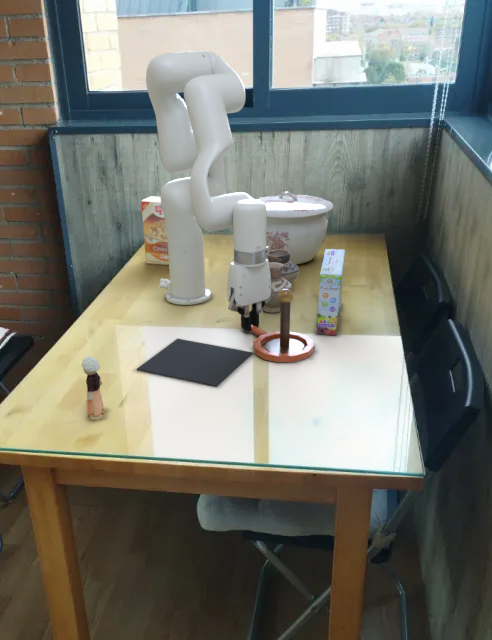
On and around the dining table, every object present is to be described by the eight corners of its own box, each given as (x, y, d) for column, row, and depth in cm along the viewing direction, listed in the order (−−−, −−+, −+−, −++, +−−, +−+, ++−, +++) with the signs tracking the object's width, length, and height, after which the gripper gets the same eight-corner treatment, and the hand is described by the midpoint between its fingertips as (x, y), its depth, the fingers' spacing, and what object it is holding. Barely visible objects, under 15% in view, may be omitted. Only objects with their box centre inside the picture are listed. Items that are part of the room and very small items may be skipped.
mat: (136, 370, 154) (136, 368, 154) (177, 340, 167) (177, 338, 167) (216, 387, 145) (216, 385, 145) (252, 353, 159) (252, 352, 159)
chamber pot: (330, 273, 204) (334, 202, 194) (238, 272, 209) (236, 202, 198) (331, 246, 228) (334, 181, 217) (248, 245, 232) (248, 181, 222)
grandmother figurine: (88, 407, 140) (80, 350, 133) (107, 405, 140) (100, 348, 134) (85, 426, 133) (76, 367, 127) (105, 425, 134) (97, 365, 127)
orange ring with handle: (325, 352, 158) (325, 345, 157) (277, 367, 152) (277, 361, 151) (264, 319, 175) (264, 313, 174) (219, 332, 169) (219, 326, 168)
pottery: (249, 315, 179) (249, 270, 173) (260, 283, 200) (260, 242, 194) (293, 316, 177) (294, 271, 171) (299, 284, 198) (301, 242, 192)
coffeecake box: (145, 263, 220) (139, 200, 210) (155, 256, 226) (150, 195, 216) (188, 267, 215) (184, 203, 205) (197, 260, 221) (194, 197, 211)
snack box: (338, 336, 165) (342, 275, 158) (315, 335, 166) (317, 274, 159) (342, 304, 183) (345, 247, 175) (320, 303, 184) (323, 247, 176)
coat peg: (258, 355, 158) (258, 293, 151) (274, 340, 165) (274, 280, 157) (295, 361, 154) (297, 298, 147) (309, 346, 161) (312, 285, 153)
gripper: (267, 245, 166) (267, 317, 176) (212, 258, 159) (214, 332, 169) (286, 253, 161) (285, 326, 170) (230, 266, 154) (231, 342, 163)
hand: (250, 328), depth 169 cm, fingers closed on orange ring with handle, 1 cm apart
